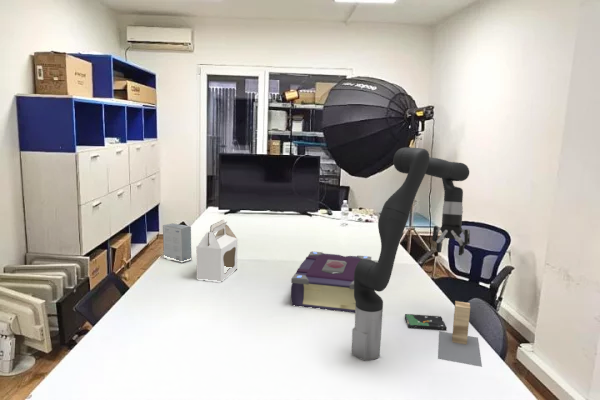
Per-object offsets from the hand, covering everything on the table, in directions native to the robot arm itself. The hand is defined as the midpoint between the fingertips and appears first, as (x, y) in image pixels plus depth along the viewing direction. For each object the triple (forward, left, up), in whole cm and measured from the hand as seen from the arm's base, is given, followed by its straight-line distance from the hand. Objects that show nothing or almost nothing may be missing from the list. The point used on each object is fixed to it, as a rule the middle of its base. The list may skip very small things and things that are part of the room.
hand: (449, 253), depth 176 cm
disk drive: (-9, +3, -30) cm, 31 cm away
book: (-12, +52, -29) cm, 61 cm away
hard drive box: (-48, +141, -29) cm, 152 cm away
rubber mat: (-17, -16, -29) cm, 37 cm away
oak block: (-11, -13, -28) cm, 33 cm away
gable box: (-43, +105, -29) cm, 117 cm away
